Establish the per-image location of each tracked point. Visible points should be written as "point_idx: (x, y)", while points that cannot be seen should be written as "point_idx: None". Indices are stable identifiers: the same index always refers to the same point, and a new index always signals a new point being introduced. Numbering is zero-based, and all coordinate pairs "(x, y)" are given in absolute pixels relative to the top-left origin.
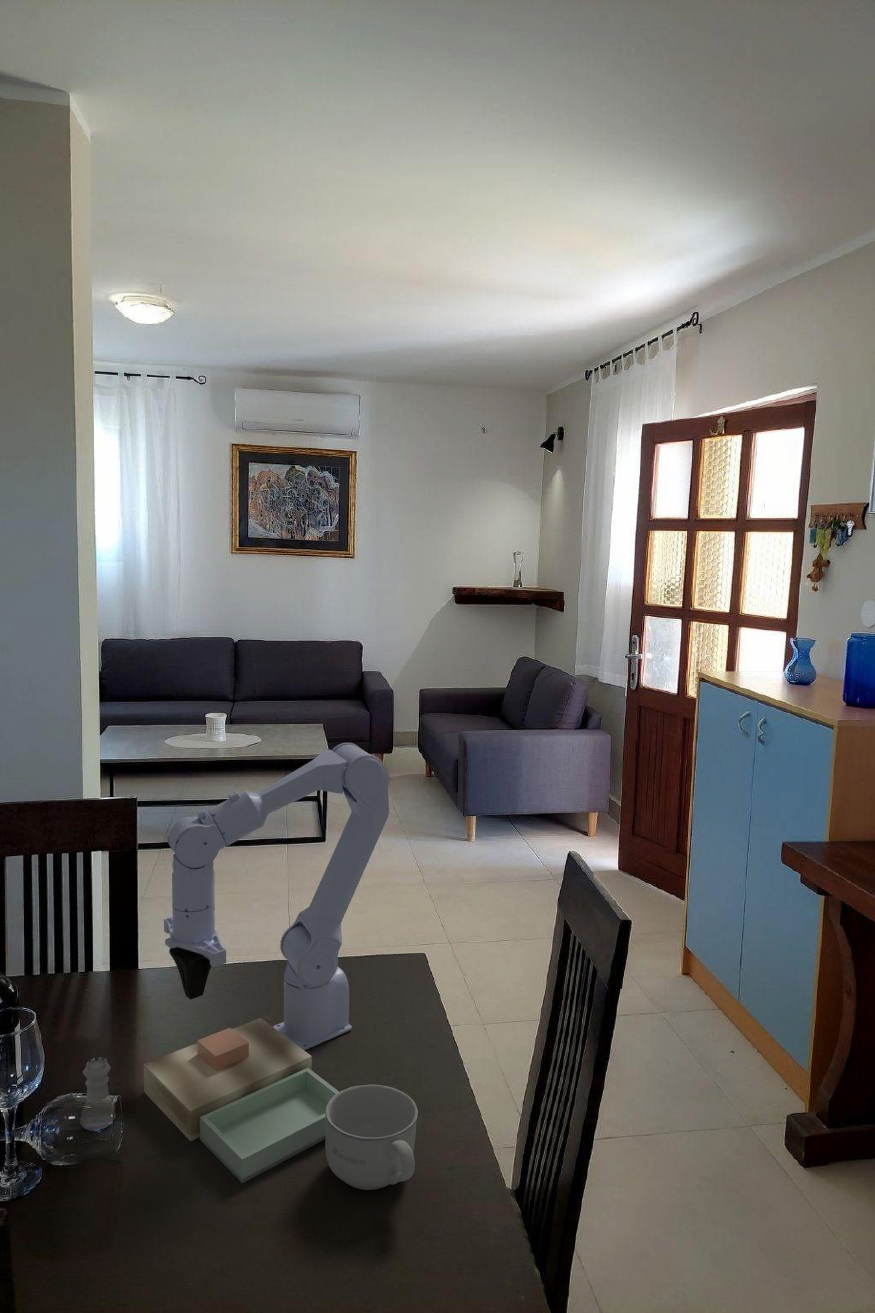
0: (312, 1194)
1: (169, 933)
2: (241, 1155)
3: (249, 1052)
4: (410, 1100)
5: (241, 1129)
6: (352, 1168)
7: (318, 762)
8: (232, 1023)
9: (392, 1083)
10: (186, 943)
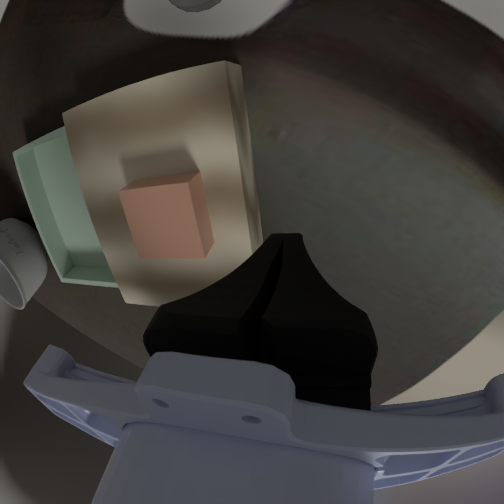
0: (18, 194)
1: (420, 425)
2: (15, 153)
3: None
4: (12, 305)
5: None
6: None
7: None
8: (353, 279)
9: (123, 326)
10: (119, 419)
